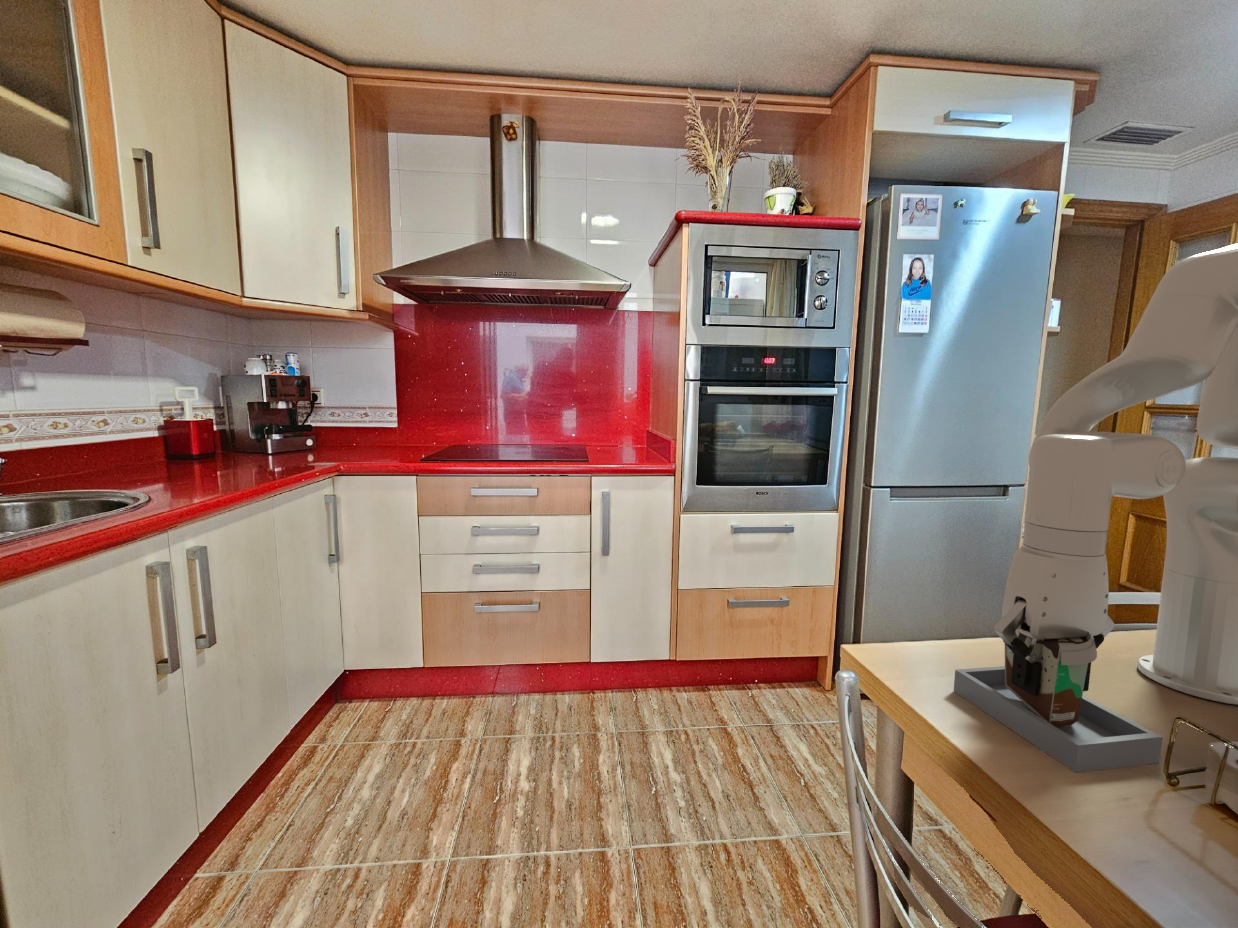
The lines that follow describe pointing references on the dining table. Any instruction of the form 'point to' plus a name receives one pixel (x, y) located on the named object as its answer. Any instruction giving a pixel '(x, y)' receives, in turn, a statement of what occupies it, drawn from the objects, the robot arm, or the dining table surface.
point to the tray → (1077, 746)
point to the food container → (1057, 678)
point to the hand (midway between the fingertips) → (1049, 686)
